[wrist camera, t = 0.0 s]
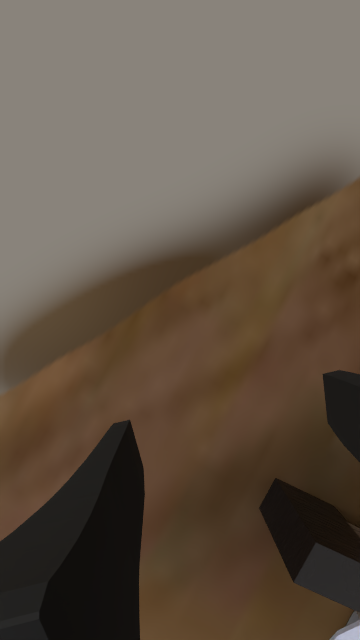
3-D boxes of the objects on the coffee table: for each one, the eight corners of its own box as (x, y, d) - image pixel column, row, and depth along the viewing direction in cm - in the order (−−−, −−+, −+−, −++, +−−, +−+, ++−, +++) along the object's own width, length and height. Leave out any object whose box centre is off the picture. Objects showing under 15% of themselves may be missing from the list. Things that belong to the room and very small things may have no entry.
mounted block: (352, 591, 24) (416, 690, 18) (241, 540, 23) (269, 626, 17) (405, 500, 24) (487, 569, 18) (293, 444, 23) (341, 497, 17)
